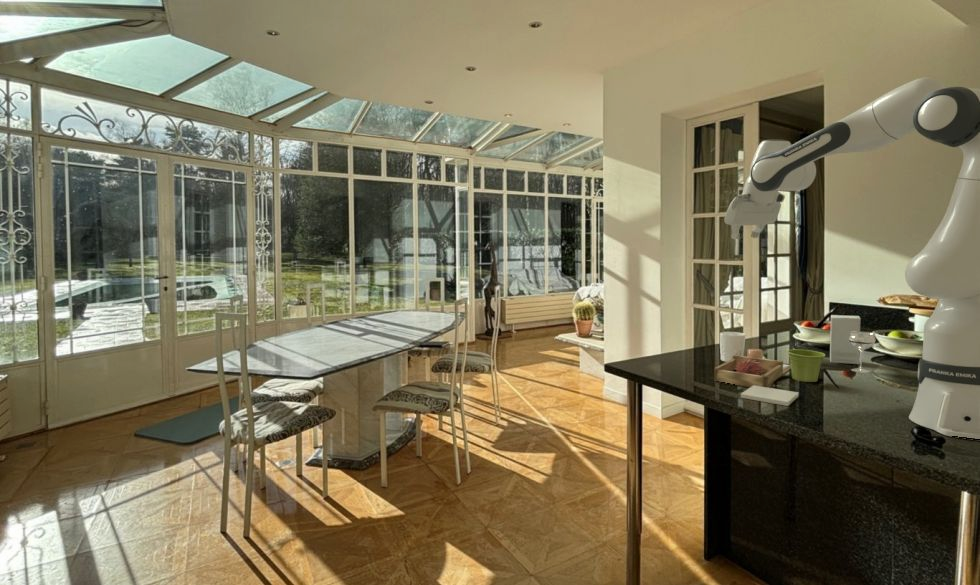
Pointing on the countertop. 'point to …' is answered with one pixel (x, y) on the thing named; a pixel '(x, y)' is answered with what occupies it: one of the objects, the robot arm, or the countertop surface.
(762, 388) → the tile
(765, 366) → the open wooden box
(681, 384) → the countertop surface
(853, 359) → the skincare box
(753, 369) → the flower
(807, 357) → the plant pot
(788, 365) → the lid
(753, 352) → the tan rounded block
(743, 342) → the white cup
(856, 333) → the wineglass
